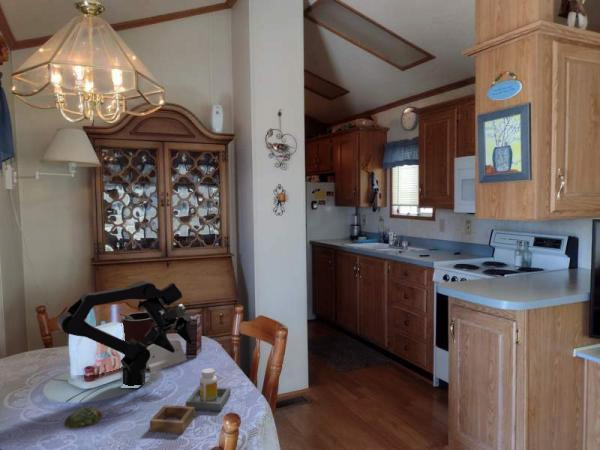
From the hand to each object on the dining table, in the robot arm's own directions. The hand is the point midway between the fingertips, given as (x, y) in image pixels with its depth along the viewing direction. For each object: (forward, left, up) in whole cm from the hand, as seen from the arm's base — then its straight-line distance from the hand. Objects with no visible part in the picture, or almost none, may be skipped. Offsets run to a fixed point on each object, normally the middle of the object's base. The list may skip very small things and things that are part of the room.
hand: (183, 347), depth 147 cm
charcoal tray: (+13, -10, -14) cm, 21 cm away
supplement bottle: (+12, -10, -13) cm, 21 cm away
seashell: (-20, -25, -14) cm, 35 cm away
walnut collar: (+7, -24, -14) cm, 29 cm away
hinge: (-15, +19, -14) cm, 28 cm away
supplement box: (-7, +31, -14) cm, 34 cm away
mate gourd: (-28, +24, -14) cm, 39 cm away
